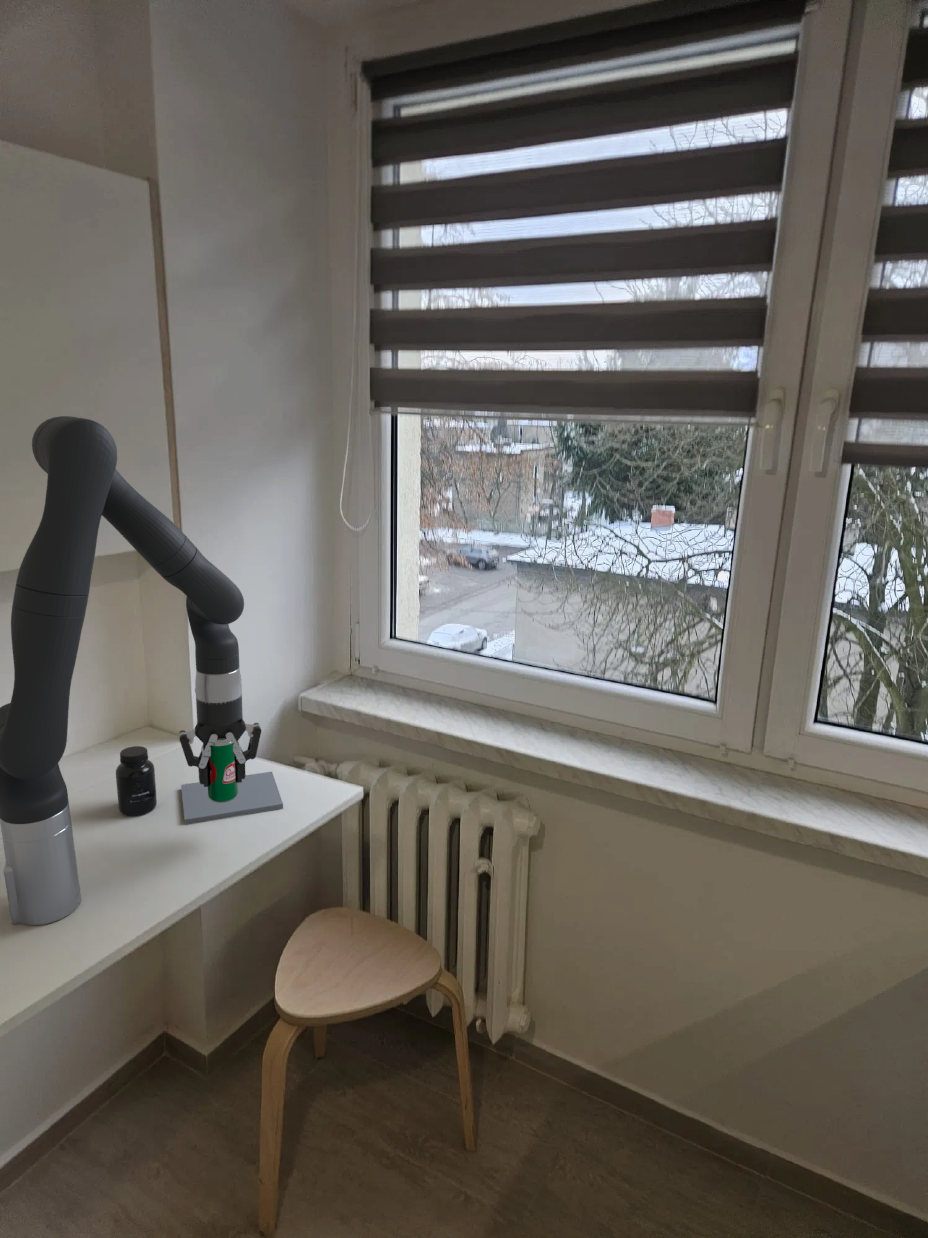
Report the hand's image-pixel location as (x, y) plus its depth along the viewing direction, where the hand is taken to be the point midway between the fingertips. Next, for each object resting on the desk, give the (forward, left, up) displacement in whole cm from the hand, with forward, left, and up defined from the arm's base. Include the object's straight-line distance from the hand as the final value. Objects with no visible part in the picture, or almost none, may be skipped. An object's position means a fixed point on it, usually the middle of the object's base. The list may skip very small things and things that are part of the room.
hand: (222, 782), depth 138 cm
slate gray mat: (+2, +14, -11) cm, 18 cm away
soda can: (0, 0, -3) cm, 3 cm away
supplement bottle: (-15, +16, -11) cm, 25 cm away
